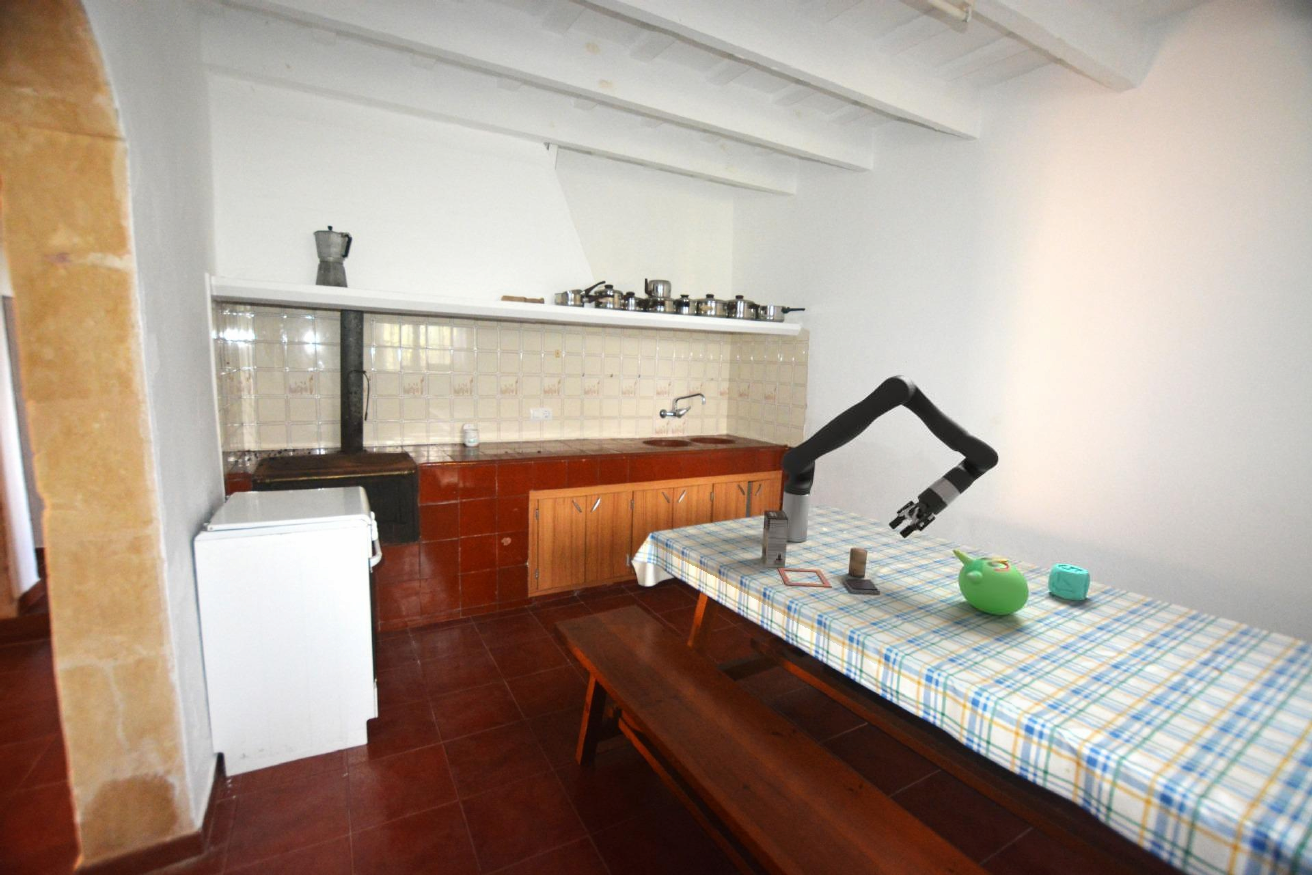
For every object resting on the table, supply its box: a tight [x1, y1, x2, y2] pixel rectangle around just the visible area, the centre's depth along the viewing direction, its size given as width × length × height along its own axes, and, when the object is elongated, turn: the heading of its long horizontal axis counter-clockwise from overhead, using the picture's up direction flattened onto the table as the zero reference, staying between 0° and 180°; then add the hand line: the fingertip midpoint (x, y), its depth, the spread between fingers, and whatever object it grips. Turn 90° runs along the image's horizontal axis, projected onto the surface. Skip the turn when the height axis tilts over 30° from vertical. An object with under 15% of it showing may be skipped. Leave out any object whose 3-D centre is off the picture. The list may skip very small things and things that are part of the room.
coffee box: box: [761, 509, 789, 568], centre depth 182 cm, size 9×6×16 cm
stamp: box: [847, 547, 868, 579], centre depth 174 cm, size 5×5×8 cm
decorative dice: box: [1047, 563, 1091, 602], centre depth 165 cm, size 8×8×8 cm
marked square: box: [777, 567, 832, 588], centre depth 171 cm, size 13×13×1 cm
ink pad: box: [842, 578, 881, 595], centre depth 165 cm, size 8×8×1 cm
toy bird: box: [952, 549, 1030, 616], centre depth 152 cm, size 18×17×15 cm
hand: (896, 531), depth 172 cm, fingers open, 8 cm apart
